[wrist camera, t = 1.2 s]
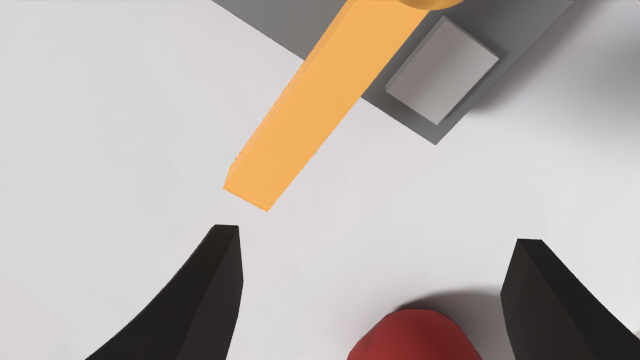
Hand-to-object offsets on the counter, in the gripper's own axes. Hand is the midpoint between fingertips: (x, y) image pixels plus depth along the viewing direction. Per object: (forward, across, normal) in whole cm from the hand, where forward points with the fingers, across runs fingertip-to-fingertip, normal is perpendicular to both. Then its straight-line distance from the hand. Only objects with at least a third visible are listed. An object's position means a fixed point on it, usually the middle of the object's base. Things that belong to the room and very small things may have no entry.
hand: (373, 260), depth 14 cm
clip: (+4, +1, -4) cm, 6 cm away
